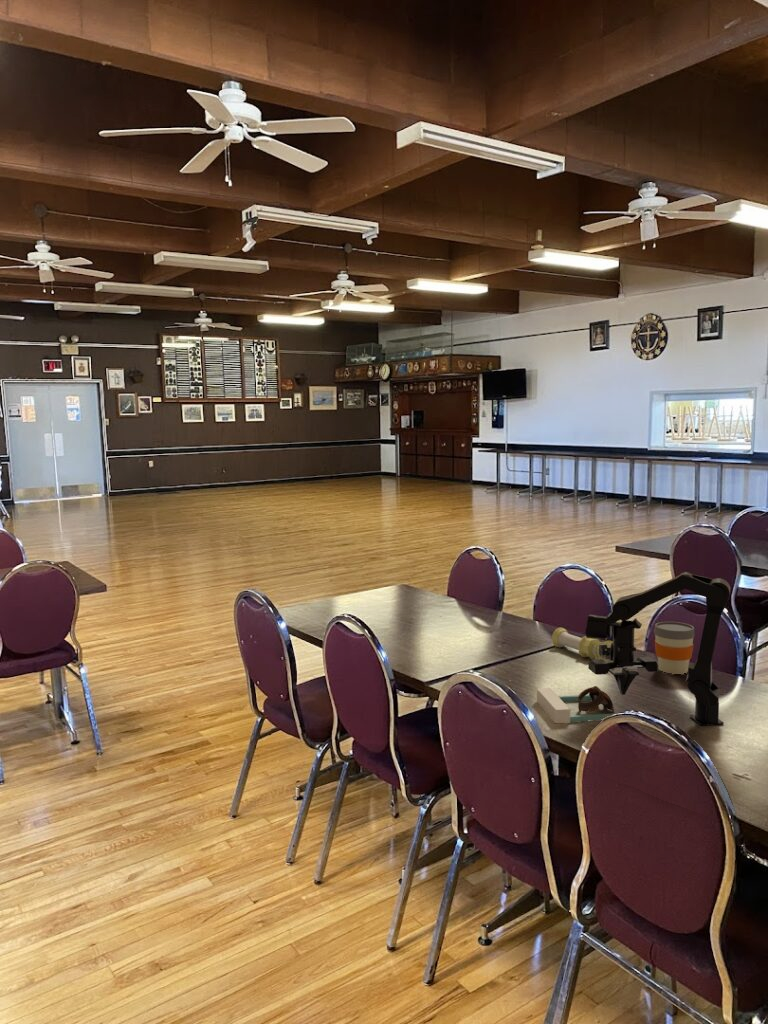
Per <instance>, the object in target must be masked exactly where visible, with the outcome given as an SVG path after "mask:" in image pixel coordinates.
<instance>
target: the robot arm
mask: <svg viewBox="0 0 768 1024" xmlns="http://www.w3.org/2000/svg"><path fill="white" fill-rule="evenodd" d="M683 590H687V591H690V592H693V593H695V594H697V595H698V596H699V595H700V596H701V597H705V607H706V608H705V609H706V615H705V619H704V625H703V628H702V634H701V635H702V636H701V638H700V639H701V640H700V644H699V648H698V649H699V651H698V654H697V659H696V660H695V662H692V661H689V666H688V672H687V673H686V674H687V675H686V679H685V683H687V688H688V691H689V692H690V693H691V694H693V696H694V697H695V707H694V710H695V711H694V713H695V714H690V715H689V717H690V719H692V720H693V721H694V722H696V723H698V724H699V725H700V726H717V725H718V726H719V725H720V726H721V725H724V721H722V720H721V719H719V714H720V713H719V712H720V701H719V699H720V691H721V689H720V687H719V686H718V685H716V683H715V682H714V681H713V666H712V664H713V663H712V660H713V656H714V652H715V651H714V650H715V645H716V641H717V636H718V635H717V634H718V632H719V626H720V621H721V616H722V614H723V612H724V610H725V608H726V605H727V604H728V600H729V598H730V595H731V586H730V583H729V582H728V581H727V580H726V579H723V578H720V577H719V578H718V577H716V578H710V577H707V576H701V575H696V574H692V573H691V572H688V571H685V572H682V573H680V574H679V575H677V576H675V577H672V578H671V579H668V580H666V581H664V582H662V583H660V584H657V585H656V586H653V587H651V588H649V589H646V590H644V591H643V592H638V593H637V592H636V593H632V594H628V595H624V596H621V597H619V598H618V599H617V600H616V601H615V603H613V606H612V612H609V614H607V616H604V615H596V614H589V615H587V621H586V627H585V636H586V638H592V639H598V640H604V641H608V638H611V637H613V639H612V641H613V643H610V644H611V647H610V648H608V647H607V645H599V655H600V656H605V658H606V659H609V660H610V661H613V662H609V663H606V662H605V661H604V660H603V659H599V658H598V659H596V658H593V659H590V660H589V662H588V665H587V666H588V669H589V671H591V672H592V673H593V674H594V675H597V676H599V675H607V674H608V673H610V674H611V675H613V676H614V679H615V681H616V684H617V688H618V690H619V693H620V695H621V696H625V695H626V694H627V691H628V689H629V687H630V686H631V684H632V682H633V681H634V680H635V678H636V677H637V676H639V675H640V673H639V672H638V671H637V670H638V668H639V669H640V668H641V669H642V668H644V669H645V670H646V671H647V672H648V673H653V672H654V673H655V672H659V666H658V661H657V660H655V659H654V658H652V657H651V656H638V657H637V658H636V660H635V652H636V651H637V647H636V646H635V629H636V630H640V629H641V627H642V626H643V624H642V623H641V622H640V621H639V620H638V619H637V618H636V617H635V616H636V615H637V614H639V613H640V612H641V611H643V610H644V609H645V608H647V607H648V606H650V605H653V604H655V603H656V602H660V601H661V600H664V599H666V598H668V597H670V596H672V595H674V594H677V593H679V592H682V591H683ZM633 617H634V619H633V620H630V619H631V618H633ZM612 635H613V636H612ZM617 665H619V666H617Z"/></svg>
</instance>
